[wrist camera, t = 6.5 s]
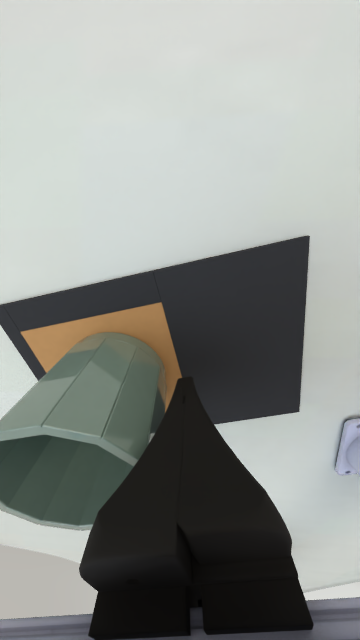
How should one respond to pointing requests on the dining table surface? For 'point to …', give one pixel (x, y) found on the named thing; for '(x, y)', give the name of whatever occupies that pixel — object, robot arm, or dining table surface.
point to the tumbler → (80, 431)
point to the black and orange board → (191, 326)
